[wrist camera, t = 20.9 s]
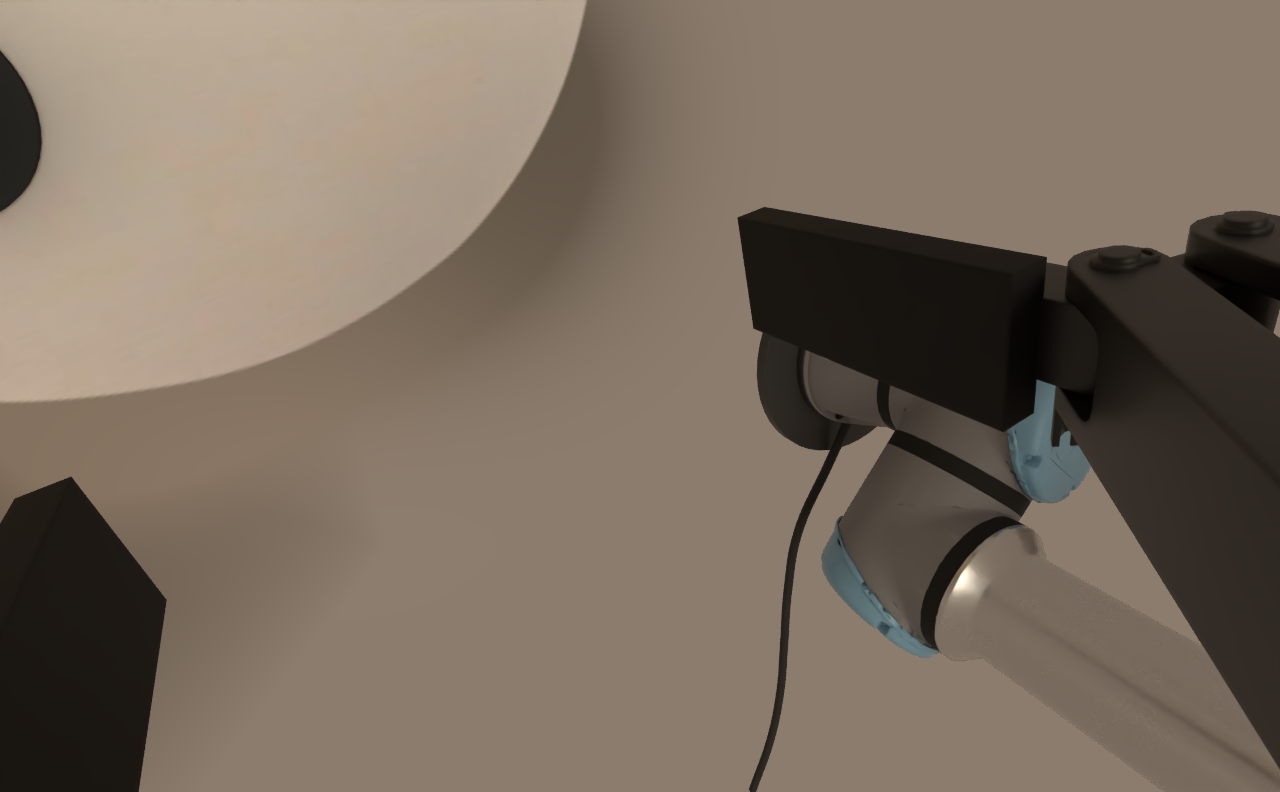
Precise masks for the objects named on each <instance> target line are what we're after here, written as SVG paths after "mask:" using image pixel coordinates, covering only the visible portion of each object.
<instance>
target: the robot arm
mask: <svg viewBox="0 0 1280 792" xmlns="http://www.w3.org/2000/svg"><path fill="white" fill-rule="evenodd" d="M738 224H739V231H740V237H741V244H742V252H743V259H744V266H745V272H746V279H747V286H748V293H749V300H750V307H751V314H752V320H753V328H754V329H756V330H759V331H761V332H763V333H766V334H768V335H771V336H773V337H775V338H778V339H780V340H783V341H785V342H787V343H790V344H792V345H795V346H797V347H799V351H798V357H797V379H798V385H799V389H800V392H801V394H802V396H803V398H804V400H805V402H806V403H807V404H808V405H809V407H810V408H811V409H813V410H814V411H815V412H817V413H819V414H821V415H822V416H824V417H826V418H828V419H831V420H833V421H837V422H841V426H840V428H839V431H838V433H837V435H836V438H835V440H834V442H833V445H832V447H831V449H830V451H829V453H828V456H827V458H826V460H825V462H824V465H823V467H822V469H821V471H820V473H819V475H818V477H817V479H816V481H815V483H814V485H813V487H812V489H811V491H810V493H809V495H808V497H807V499H806V501H805V503H804V506H803V508H802V510H801V513H800V515H799V518H798V520H797V523H796V526H795V529H794V532H793V536H792V539H791V543H790V548H789V552H788V558H787V565H786V574H785V583H784V592H783V603H782V619H781V638H780V655H779V672H778V673H779V674H778V683H777V691H776V698H775V704H774V710H773V716H772V720H771V725H770V728H769V732H768V736H767V740H766V743H765V746H764V750H763V753H762V756H761V758H760V761H759V764H758V766H757V769H756V772H755V774H754V777H753V779H752V782H751V785H750V788H749V790H750V792H756V790H757V787H758V785H759V782H760V780H761V777H762V774H763V772H764V769H765V766H766V764H767V761H768V759H769V756H770V753H771V750H772V746H773V743H774V740H775V736H776V732H777V728H778V723H779V719H780V714H781V709H782V703H783V697H784V689H785V681H786V668H787V652H788V638H789V618H790V605H791V595H792V587H793V579H794V570H795V563H796V557H797V552H798V547H799V543H800V540H801V536H802V533H803V530H804V527H805V524H806V521H807V519H808V516H809V514H810V512H811V509H812V507H813V505H814V503H815V501H816V499H817V497H818V495H819V493H820V491H821V489H822V487H823V485H824V483H825V481H826V479H827V477H828V475H829V473H830V471H831V469H832V466H833V464H834V462H835V460H836V457H837V456H838V453H839V451H840V449H841V447H842V445H843V442H844V440H845V438H846V435H847V433H848V431H849V428H850V426H851V424H858V425H869V426H879V427H888V428H890V429H893V430H895V432H894V433H893V435H892V437H891V438H890V440H889V442H888V443H887V445H886V447H885V448H884V450H883V452H882V453H881V455H880V456H879V458H878V460H877V462H876V463H875V465H874V467H873V468H872V470H871V471H870V473H869V474H868V476H867V478H866V479H865V481H864V483H863V484H862V486H861V488H860V489H859V491H858V493H857V494H856V496H855V497H854V499H853V501H852V502H851V504H850V506H849V507H848V509H847V511H846V512H845V514H844V516H841V517H839V518H838V520H837V521H836V525H835V530H834V532H833V534H832V535H831V537H830V539H829V541H828V543H827V545H826V547H825V548H824V550H823V553H822V569H823V572H824V574H825V576H826V578H827V580H828V582H829V583H830V585H831V586H832V587H833V589H834V590H835V591H836V592H837V594H838V595H839V596H840V597H841V598H842V599H843V600H844V601H845V602H846V603H847V605H849V606H850V607H851V608H852V609H853V610H854V611H855V612H856V613H857V614H858V615H859V616H860V617H861V618H862V619H863V620H865V621H866V622H867V623H868V624H869V625H871V626H872V627H874V628H877V629H879V631H880V632H881V633H882V634H883V635H884V636H885V637H887V638H888V639H889V640H890V641H891V642H893V643H894V644H896V645H897V646H899V647H900V648H902V649H904V650H906V651H907V652H909V653H911V654H913V655H916V656H918V657H922V658H929V657H932V656H933V655H934V654H937V653H939V652H941V653H942V654H943V655H944V656H946V657H947V658H949V659H950V660H954V661H967V660H975V659H984V660H985V661H986V662H988V663H989V664H991V665H992V666H993V667H994V668H996V669H997V670H999V671H1000V672H1001V673H1003V674H1004V675H1005V676H1007V677H1008V678H1009V679H1011V680H1012V681H1014V682H1015V683H1016V684H1018V685H1019V686H1021V687H1022V688H1023V689H1025V690H1026V691H1027V692H1029V693H1030V694H1031V695H1033V696H1034V697H1035V698H1037V699H1038V700H1039V701H1041V702H1042V703H1044V704H1045V705H1046V706H1048V707H1049V708H1050V709H1052V710H1053V711H1054V712H1056V713H1058V714H1059V715H1060V716H1061V717H1063V718H1064V719H1065V720H1067V721H1068V722H1069V723H1071V724H1072V725H1074V726H1075V727H1076V728H1078V729H1079V730H1080V731H1082V732H1083V733H1085V734H1086V735H1087V736H1089V737H1090V738H1091V739H1093V740H1094V741H1095V742H1097V743H1098V744H1100V745H1101V746H1102V747H1104V748H1105V749H1106V750H1108V751H1109V752H1110V753H1112V754H1113V755H1115V756H1116V757H1117V758H1119V759H1120V760H1121V761H1123V762H1124V763H1126V764H1127V765H1128V766H1130V767H1131V768H1132V769H1134V770H1135V771H1136V772H1138V773H1139V774H1140V775H1142V776H1143V777H1145V778H1146V779H1147V780H1149V781H1150V782H1151V783H1153V784H1154V785H1155V786H1157V787H1158V788H1160V789H1161V790H1162V791H1164V792H1280V338H1279V337H1278V336H1276V335H1275V334H1274V333H1273V332H1274V328H1275V325H1276V321H1277V317H1278V314H1279V310H1280V216H1277V215H1271V214H1267V213H1263V212H1257V211H1233V212H1226V213H1225V214H1223V215H1217V216H1210V217H1207V218H1204V219H1201V220H1197V221H1196V222H1195V223H1193V224H1192V225H1191V226H1190V230H1189V235H1188V241H1187V246H1186V252H1185V254H1181V255H1177V256H1174V257H1169V256H1167V255H1164V254H1162V253H1160V252H1158V251H1156V250H1154V249H1151V248H1139V247H1132V246H1125V245H1124V246H1110V247H1105V248H1098V249H1093V250H1088V251H1084V252H1082V253H1079V254H1077V255H1074V256H1073V257H1072V258H1071V259H1070V260H1069V261H1068V266H1062V265H1057V264H1052V263H1046V262H1047V261H1046V260H1047V257H1043V256H1038V255H1032V254H1027V253H1021V252H1015V251H1010V250H1004V249H998V248H993V247H987V246H982V245H976V244H970V243H965V242H959V241H953V240H948V239H942V238H936V237H931V236H925V235H919V234H914V233H908V232H902V231H897V230H891V229H886V228H879V227H874V226H869V225H862V224H857V223H852V222H846V221H840V220H835V219H829V218H823V217H818V216H812V215H807V214H801V213H794V212H790V211H784V210H778V209H773V208H767V207H763V208H761V209H758V210H756V211H753V212H751V213H748V214H745V215H743V216H740V217H738ZM1090 467H1092V468H1093V470H1094V472H1095V473H1096V475H1097V476H1098V478H1099V480H1100V481H1101V483H1102V484H1103V486H1104V488H1105V489H1106V491H1107V492H1108V494H1109V495H1110V497H1111V499H1112V500H1113V502H1114V503H1115V505H1116V507H1117V509H1118V510H1119V512H1120V513H1121V515H1122V516H1123V518H1124V520H1125V521H1126V523H1127V525H1128V526H1129V528H1130V529H1131V531H1132V533H1133V534H1134V536H1135V537H1136V539H1137V541H1138V542H1139V544H1140V545H1141V547H1142V549H1143V550H1144V552H1145V553H1146V555H1147V557H1148V558H1149V560H1150V561H1151V563H1152V565H1153V566H1154V568H1155V570H1156V571H1157V573H1158V575H1159V576H1160V578H1161V579H1162V581H1163V583H1164V584H1165V586H1166V587H1167V589H1168V591H1169V592H1170V594H1171V595H1172V597H1173V599H1174V600H1175V602H1176V603H1177V605H1178V607H1179V608H1180V610H1181V612H1182V613H1183V615H1184V616H1185V618H1186V620H1187V621H1188V623H1189V624H1190V626H1191V628H1192V629H1193V631H1194V633H1195V634H1196V636H1197V637H1198V639H1199V641H1200V642H1201V644H1202V645H1203V646H1201V645H1199V644H1198V643H1196V642H1194V641H1192V640H1190V639H1189V638H1187V637H1185V636H1183V635H1181V634H1179V633H1177V632H1176V631H1174V630H1172V629H1170V628H1169V627H1167V626H1165V625H1163V624H1161V623H1159V622H1158V621H1156V620H1154V619H1152V618H1150V617H1149V616H1147V615H1145V614H1143V613H1141V612H1140V611H1138V610H1136V609H1134V608H1132V607H1130V606H1129V605H1127V604H1125V603H1123V602H1121V601H1120V600H1118V599H1116V598H1114V597H1112V596H1111V595H1109V594H1107V593H1105V592H1103V591H1102V590H1100V589H1098V588H1096V587H1094V586H1092V585H1091V584H1089V583H1087V582H1085V581H1083V580H1082V579H1080V578H1078V577H1076V576H1074V575H1073V574H1071V573H1069V572H1067V571H1065V570H1063V569H1062V568H1060V567H1058V566H1056V565H1054V564H1053V563H1051V562H1049V561H1048V560H1047V558H1046V554H1045V551H1044V547H1043V544H1042V541H1041V538H1040V537H1039V535H1038V534H1037V533H1036V532H1035V531H1034V530H1033V529H1031V528H1029V527H1027V526H1025V525H1023V524H1021V523H1020V522H1019V520H1020V518H1021V517H1022V515H1023V514H1024V512H1025V510H1026V509H1027V507H1028V506H1029V504H1030V503H1031V501H1032V500H1034V501H1036V502H1038V503H1056V502H1059V501H1062V500H1063V499H1065V498H1066V497H1068V496H1069V494H1070V491H1071V490H1075V489H1076V488H1077V487H1078V486H1079V485H1080V483H1081V482H1082V481H1083V479H1084V478H1085V476H1086V474H1087V473H1088V471H1089V469H1090ZM165 607H166V599H165V597H164V596H163V595H162V594H161V592H160V591H159V589H158V588H157V587H156V586H155V584H154V583H153V582H152V580H151V579H150V578H149V577H148V575H147V574H146V573H145V571H144V570H143V569H142V568H141V566H140V565H139V564H138V562H137V561H136V560H135V558H134V557H133V556H132V555H131V554H130V552H129V551H128V550H127V548H126V547H125V546H124V544H123V543H122V542H121V540H120V539H119V538H118V537H117V535H116V534H115V533H114V532H113V530H112V529H111V528H110V526H109V525H108V524H107V522H106V521H105V520H104V518H103V517H102V516H101V515H100V513H99V512H98V511H97V509H96V508H95V507H94V505H93V504H92V503H91V502H90V500H89V499H88V498H87V497H86V495H85V494H84V493H83V491H82V490H81V489H80V487H79V486H78V485H77V484H76V482H75V481H74V480H73V478H72V477H69V478H67V479H64V480H61V481H59V482H56V483H54V484H51V485H48V486H46V487H43V488H41V489H38V490H36V491H33V492H30V493H28V494H26V495H23V496H21V497H18V498H15V499H14V501H13V503H12V504H11V506H10V508H9V509H8V511H7V513H6V515H5V516H4V518H3V520H2V522H1V523H0V792H139V785H140V778H141V771H142V764H143V757H144V751H145V744H146V737H147V730H148V723H149V717H150V710H151V703H152V696H153V689H154V683H155V676H156V669H157V662H158V655H159V648H160V641H161V635H162V628H163V621H164V614H165Z"/></svg>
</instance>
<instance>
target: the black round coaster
mask: <svg viewBox="0 0 1280 792" xmlns="http://www.w3.org/2000/svg"><path fill="white" fill-rule="evenodd" d="M40 150H41V130H40V124H39V119H38V115H37V111H36V108H35V106H34V103H33V100H32V97H31V95H30V93H29V92H28V90H27V88H26V86H25V84H24V82H23V80H22V79H21V77H20V76H19V74H18V73H17V71H16V70H15V69H14V67H13V66H12V64H11V63H10V62H9V61H8V60H7V58H6V57H5V56H4V55H3V54H2V53H1V51H0V211H2V210H3V209H5V208H6V207H8V206H9V205H10V204H11V203H12V202H14V201H15V200H16V199H17V198H18V197H19V196H20V195H21V194H22V192H23V191H24V190H25V188H26V187H27V186H28V185H29V183H30V181H31V179H32V177H33V175H34V173H35V171H36V168H37V165H38V161H39V158H40Z"/></svg>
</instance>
